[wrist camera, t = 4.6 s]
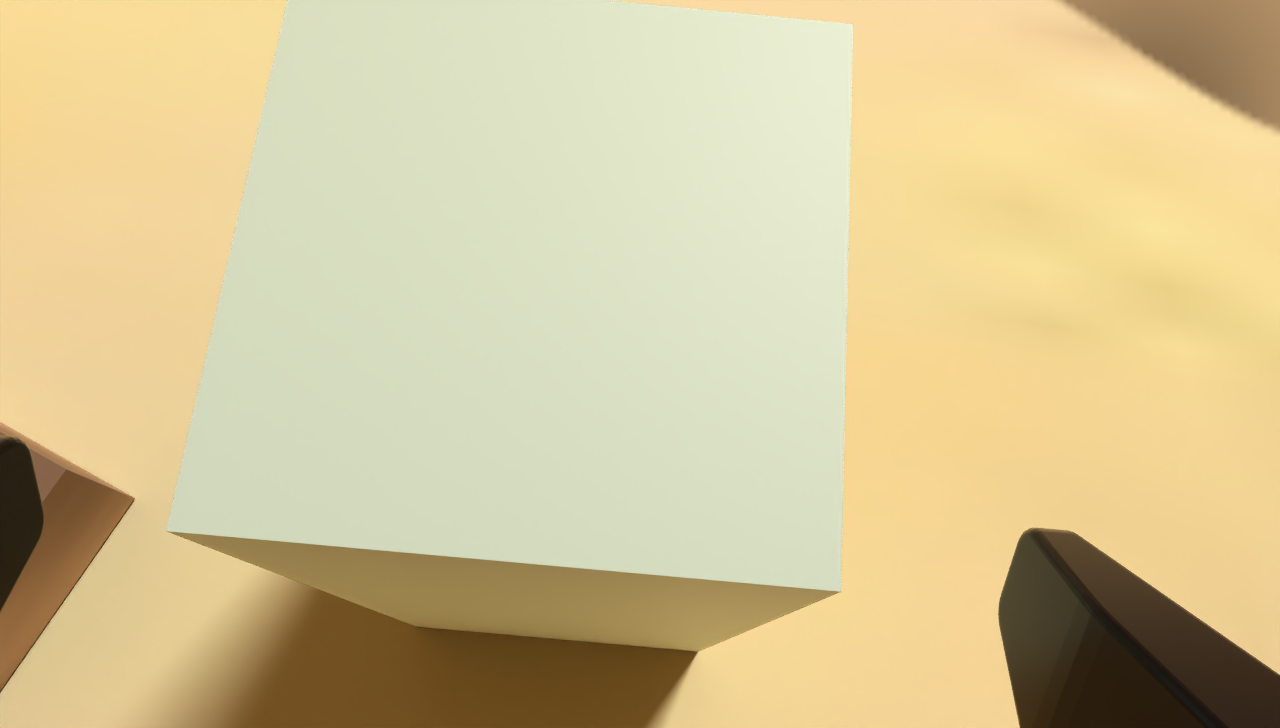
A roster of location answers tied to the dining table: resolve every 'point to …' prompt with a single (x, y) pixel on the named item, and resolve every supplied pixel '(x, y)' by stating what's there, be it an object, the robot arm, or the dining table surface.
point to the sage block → (537, 319)
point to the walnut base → (56, 547)
